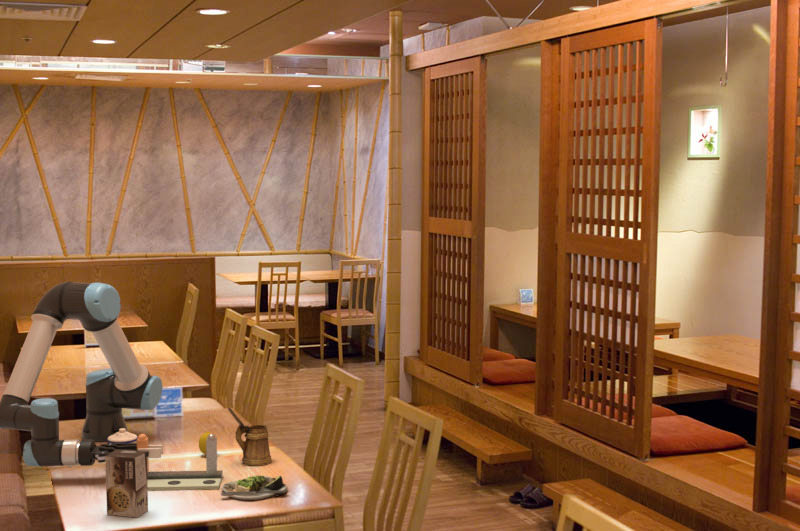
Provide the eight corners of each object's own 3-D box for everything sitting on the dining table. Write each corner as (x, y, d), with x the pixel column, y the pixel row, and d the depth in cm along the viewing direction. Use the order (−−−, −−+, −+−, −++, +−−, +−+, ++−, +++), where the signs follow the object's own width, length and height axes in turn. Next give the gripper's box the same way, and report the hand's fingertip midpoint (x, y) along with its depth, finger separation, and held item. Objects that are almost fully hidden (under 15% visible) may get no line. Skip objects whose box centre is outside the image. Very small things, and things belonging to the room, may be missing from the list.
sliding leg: (139, 470, 283) (138, 432, 282) (148, 470, 283) (148, 432, 282) (137, 473, 280) (136, 435, 279) (147, 473, 280) (146, 435, 279)
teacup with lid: (138, 469, 292) (137, 431, 291) (107, 471, 290) (106, 433, 289) (138, 458, 304) (137, 422, 303) (108, 460, 301) (107, 423, 300)
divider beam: (130, 478, 283) (129, 433, 282) (222, 476, 285) (222, 432, 284) (128, 481, 280) (127, 436, 279) (221, 480, 282) (221, 435, 281)
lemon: (195, 457, 305) (195, 432, 304) (204, 452, 310) (204, 428, 310) (211, 459, 303) (211, 434, 303) (219, 454, 309) (219, 430, 308)
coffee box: (149, 510, 256) (148, 451, 255) (136, 518, 250) (135, 457, 248) (118, 507, 258) (117, 448, 257) (105, 515, 252) (104, 455, 251)
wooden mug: (226, 460, 303) (226, 404, 301) (269, 457, 306) (269, 401, 305) (229, 468, 294) (229, 410, 292) (273, 464, 298) (273, 408, 296)
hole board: (134, 483, 279) (134, 479, 278) (221, 481, 281) (221, 478, 281) (129, 490, 272) (129, 487, 272) (218, 489, 274) (218, 485, 274)
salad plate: (233, 508, 259) (233, 492, 258) (206, 491, 273) (206, 475, 273) (296, 495, 270) (296, 479, 269) (267, 479, 284) (267, 464, 284)
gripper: (86, 457, 288) (166, 456, 290) (73, 473, 272) (157, 471, 274) (86, 432, 287) (165, 431, 289) (72, 447, 271) (157, 446, 273)
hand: (161, 451), depth 281 cm, fingers closed on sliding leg, 3 cm apart
